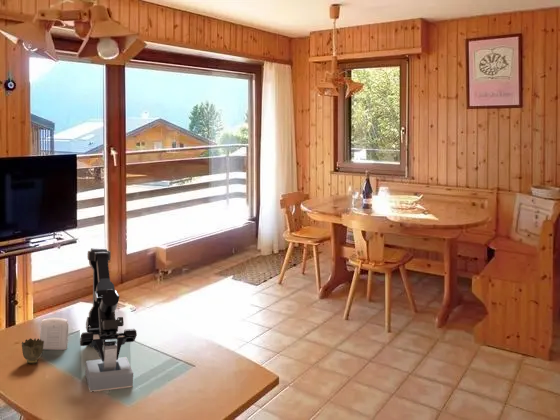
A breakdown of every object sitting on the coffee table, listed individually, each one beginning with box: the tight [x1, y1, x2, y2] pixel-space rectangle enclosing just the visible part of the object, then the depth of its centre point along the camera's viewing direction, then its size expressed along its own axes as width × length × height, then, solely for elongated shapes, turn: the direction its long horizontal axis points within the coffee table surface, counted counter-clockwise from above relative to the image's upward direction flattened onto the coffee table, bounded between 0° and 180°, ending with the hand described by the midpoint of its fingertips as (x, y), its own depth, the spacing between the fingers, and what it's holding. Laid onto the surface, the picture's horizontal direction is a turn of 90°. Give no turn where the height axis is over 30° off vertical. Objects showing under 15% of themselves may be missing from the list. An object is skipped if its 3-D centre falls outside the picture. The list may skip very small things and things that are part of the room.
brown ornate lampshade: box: [21, 338, 44, 365], centre depth 193 cm, size 8×7×8 cm
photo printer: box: [39, 317, 69, 351], centre depth 207 cm, size 10×4×12 cm, turn 103°
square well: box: [84, 356, 134, 393], centre depth 185 cm, size 14×14×5 cm
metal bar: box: [102, 340, 117, 372], centre depth 185 cm, size 4×4×13 cm
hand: (110, 360), depth 183 cm, fingers open, 4 cm apart
